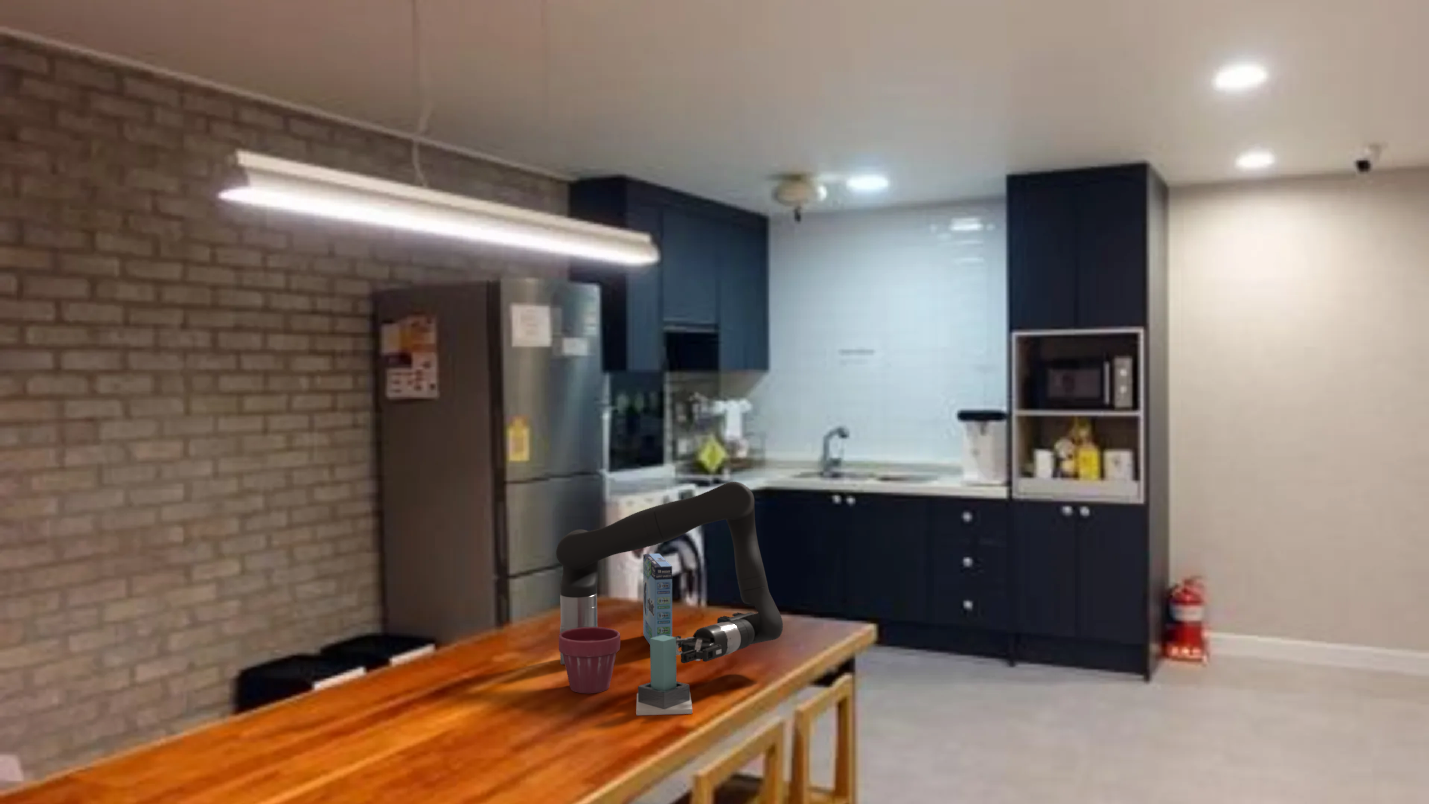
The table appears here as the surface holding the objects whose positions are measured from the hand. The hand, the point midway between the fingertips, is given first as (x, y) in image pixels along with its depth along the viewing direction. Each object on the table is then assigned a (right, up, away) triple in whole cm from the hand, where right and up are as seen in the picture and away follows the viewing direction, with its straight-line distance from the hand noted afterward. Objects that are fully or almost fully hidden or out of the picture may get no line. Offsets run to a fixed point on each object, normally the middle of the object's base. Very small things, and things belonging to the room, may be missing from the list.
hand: (668, 655), depth 236 cm
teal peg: (-1, -10, -1) cm, 10 cm away
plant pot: (-19, -11, +13) cm, 25 cm away
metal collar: (-1, -11, -1) cm, 11 cm away
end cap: (+17, -9, +56) cm, 60 cm away
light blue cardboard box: (-5, -10, +52) cm, 53 cm away
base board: (-1, -11, -1) cm, 11 cm away
